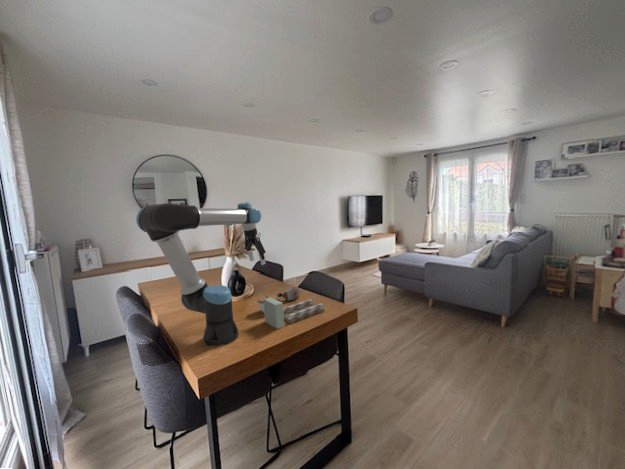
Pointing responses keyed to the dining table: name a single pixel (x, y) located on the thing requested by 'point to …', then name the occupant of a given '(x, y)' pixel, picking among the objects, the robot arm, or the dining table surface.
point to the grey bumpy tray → (301, 311)
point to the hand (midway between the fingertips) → (257, 262)
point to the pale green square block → (274, 312)
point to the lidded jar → (261, 301)
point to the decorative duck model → (291, 294)
